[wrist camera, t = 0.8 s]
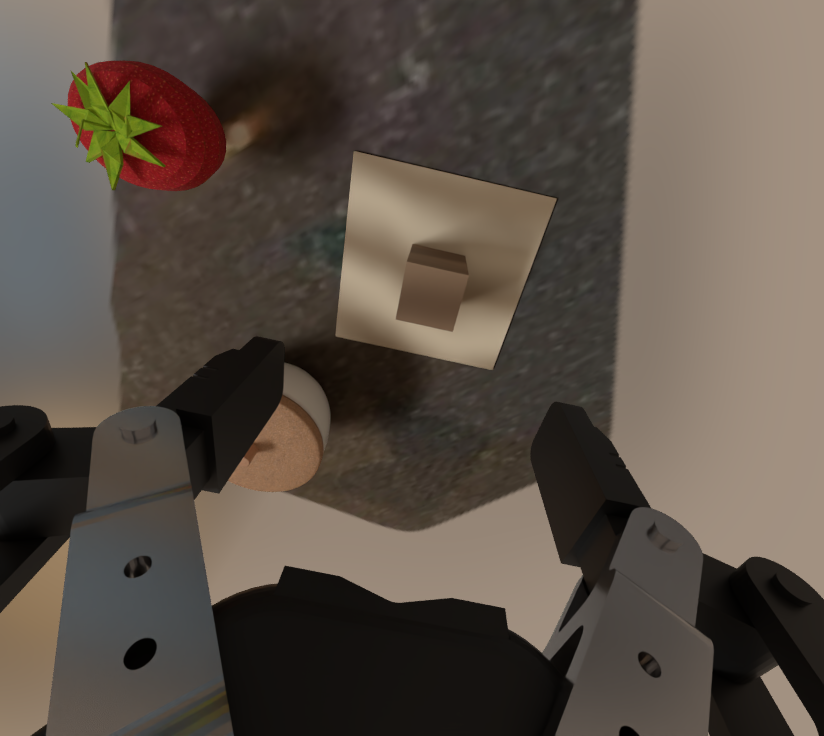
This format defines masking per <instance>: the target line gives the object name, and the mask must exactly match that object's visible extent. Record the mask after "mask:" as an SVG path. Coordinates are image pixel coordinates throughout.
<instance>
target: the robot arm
mask: <svg viewBox="0 0 824 736" xmlns="http://www.w3.org/2000/svg"><path fill="white" fill-rule="evenodd" d="M284 356H285V347H284V343H283V342H281V341H276V340H272V339H267V338H262V337H258V336H255V337H254V338H252V339H251V340H250V341H249V342H248V343H247V344H246V345H245V346H244V347H242V348H241V349H240V350H236V349H231V350H229V351H226V352H224V353H221V354H219V355H216V356H215V357H213V358H212V359H211V360H210V361H209V362H207V363H206V364H205V365H204V367H203V368H200V369H199V370H198V371H197V372H196V373H194V375H193V377H190V378H189V379H187V380H186V381H185V382H184V383H183V384H182V385H180V386H179V387H178V388H177V389H176V390H174V391H173V392H172V393H171V394H170V395H169V396H167V397H166V398H165V399H164V400H163V401H161V402H160V403H159V404H158V405H157V406H142V407H135V408H130V409H127V410H123V411H121V412H118V413H116V414H114V415H112V416H110V417H108V418H107V419H105V420H104V421H103V422H101V423H100V424H99V425H98V426H97V427H83V428H51V426H50V423H49V421H48V418H47V415H46V414H45V413H44V412H43V411H42V410H40V409H38V408H35V407H31V406H23V405H22V406H21V405H19V406H18V405H13V406H2V407H0V613H1V612H2V611H3V609H4V608H5V607H6V606H7V605H8V604H9V603H10V602H11V601H12V599H14V597H15V596H16V595H17V594H18V593H19V592H20V591H21V590H22V589H23V588H24V587H25V585H26V584H27V583H28V582H29V581H30V580H31V579H32V578H33V577H34V576H35V574H36V573H37V572H38V571H39V570H40V569H41V568H42V567H43V566H44V565H45V564H46V562H47V561H48V560H49V559H50V558H51V557H52V556H53V555H54V554H55V553H56V552H57V551H58V549H59V548H60V547H61V546H62V545H63V544H64V543H65V542H66V541H67V540H68V539H69V537H70V541H69V550H68V558H67V566H66V574H65V582H64V591H63V599H62V607H61V616H60V624H59V632H58V640H57V648H56V656H55V665H54V673H53V681H52V689H51V698H50V706H49V714H48V722H47V725H45V726H44V727H42V728H41V729H39V730H38V731H37V732H35V733H34V734H32V736H708V732H709V735H710V736H794V735H793V733H792V731H791V729H790V728H789V726H788V724H787V723H786V721H785V719H784V717H783V715H782V714H781V712H780V710H779V709H778V707H777V705H776V703H775V702H774V700H773V698H772V696H771V695H770V693H769V691H768V689H767V688H766V686H765V684H764V683H763V681H762V679H761V677H760V676H762V675H763V674H764V673H766V672H768V671H770V670H771V669H773V668H774V667H776V666H778V665H779V667H780V668H781V670H782V671H783V673H784V675H785V676H786V678H787V679H788V681H789V683H790V684H791V686H792V687H793V689H794V691H795V692H796V694H797V695H798V697H799V699H800V700H801V702H802V703H803V705H804V707H805V708H806V710H807V711H808V713H809V715H810V716H811V718H812V720H813V721H814V723H815V725H816V728H817V731H818V734H819V736H824V599H823V598H822V597H821V596H820V595H819V594H818V593H817V592H816V591H815V590H814V589H813V588H812V587H811V586H810V585H809V584H808V583H806V582H805V581H804V580H803V579H801V578H800V577H799V576H797V575H796V574H795V573H793V572H792V571H790V570H789V569H787V568H785V567H784V566H782V565H780V564H778V563H776V562H774V561H771V560H768V559H766V558H762V557H751V558H749V559H748V560H746V561H745V562H744V563H743V564H742V565H741V566H740V567H738V568H737V569H736V568H734V567H732V566H730V565H728V564H725V563H723V562H721V561H719V560H716V559H714V558H712V557H710V556H708V555H706V554H703V553H702V550H701V548H700V546H699V544H698V543H697V541H696V540H695V539H694V537H693V536H692V535H691V534H690V533H689V532H688V531H687V530H686V529H685V528H684V527H683V526H682V525H681V524H679V523H678V522H677V521H676V520H674V519H673V518H671V517H669V516H668V515H666V514H664V513H662V512H660V511H657V510H654V509H651V507H650V505H649V504H648V502H647V500H646V499H645V497H644V495H643V494H642V492H641V491H640V489H639V487H638V485H637V484H636V482H635V480H634V479H633V477H632V475H631V474H630V472H629V470H628V469H626V465H625V464H624V462H623V460H622V459H621V458H620V457H619V454H618V452H617V450H616V449H615V447H614V446H613V444H612V442H611V441H610V440H609V439H608V438H607V437H606V436H605V435H604V434H603V433H602V432H601V431H600V430H599V429H598V428H597V427H594V426H593V424H592V423H591V421H590V419H589V417H588V416H587V414H586V412H585V410H584V409H583V408H582V407H579V406H574V405H570V404H565V403H560V402H554V403H553V404H552V405H551V406H550V408H549V410H548V412H547V414H546V416H545V418H544V420H543V422H542V424H541V426H540V428H539V430H538V432H537V434H536V436H535V438H534V440H533V443H532V446H531V463H532V466H533V469H534V473H535V476H536V480H537V483H538V486H539V490H540V493H541V497H542V500H543V503H544V507H545V510H546V514H547V517H548V520H549V524H550V527H551V531H552V534H553V537H554V541H555V544H556V548H557V551H558V554H559V558H560V561H561V563H562V564H567V565H572V566H577V567H581V570H582V573H583V575H582V577H581V578H580V579H579V581H578V582H577V584H576V586H575V588H574V590H573V592H572V594H571V596H570V599H569V601H568V603H567V605H566V607H565V609H564V611H563V613H562V615H561V618H560V620H559V622H558V624H557V626H556V628H555V630H554V632H553V634H552V636H551V638H550V640H549V642H548V644H547V646H546V647H545V649H544V651H543V652H542V653H541V652H540V651H539V650H538V649H537V648H535V647H534V646H533V645H531V644H530V643H529V642H528V641H527V640H525V639H524V638H522V637H521V636H519V635H517V634H516V633H514V632H512V631H511V630H509V629H508V626H507V620H506V612H505V608H501V607H495V606H490V605H485V604H480V603H475V602H470V601H465V600H459V599H454V598H447V599H436V600H426V601H415V602H404V603H395V602H391V601H388V600H386V599H384V598H382V597H380V596H378V595H376V594H374V593H372V592H370V591H368V590H366V589H364V588H362V587H360V586H358V585H356V584H354V583H352V582H350V581H348V580H346V579H344V578H342V577H340V576H335V575H330V574H325V573H320V572H315V571H310V570H305V569H300V568H294V567H289V566H285V567H284V569H283V572H282V574H281V577H280V579H279V582H278V584H269V585H264V586H259V587H254V588H251V589H248V590H245V591H242V592H239V593H236V594H234V595H232V596H230V597H228V598H225V599H223V600H221V601H220V602H218V603H216V604H214V605H211V599H210V594H209V587H208V582H207V575H206V569H205V563H204V558H203V552H202V546H201V539H200V533H199V528H198V522H197V516H196V509H195V504H194V500H195V498H196V497H197V496H198V494H199V493H200V492H201V490H204V491H209V492H214V493H220V491H221V490H222V488H223V487H224V485H225V484H226V482H227V481H228V480H229V478H230V477H231V475H232V474H233V472H234V471H235V469H236V468H237V466H238V465H239V463H240V462H241V460H242V459H243V457H244V456H245V454H246V453H247V452H248V450H249V449H250V447H251V446H252V444H253V443H254V441H255V440H256V438H257V437H258V435H259V434H260V432H261V431H262V429H263V428H264V426H265V425H266V424H267V422H268V421H269V419H270V418H271V416H272V415H273V413H274V412H275V410H276V409H277V407H278V405H279V403H280V401H281V398H282V394H283V388H284Z"/></svg>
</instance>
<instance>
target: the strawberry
mask: <svg viewBox="0 0 824 736" xmlns="http://www.w3.org/2000/svg"><path fill="white" fill-rule="evenodd" d="M85 67H86V68H84V69H83V70H82V71H81V72H80V73H78V74H77V76H76V75H75V74H74V73H73V72H72V71H71V73H72V76H73V78H74V80H73V82H72V83H71V86H70V89H69V93H68V106H64V105H59V104H53V103H52V104H53V105H54V106H55V107H56V108H58V109H59V110H60V111H61V112H63V113H64V114H65V115H67V116H68V117H69V118H70V120H71V122H72V125H73V127H74V130H75V132H76V134H77V136H78V137H77V141H76V147H77V148H78V145H79V141H81V143H82V144H83V145H84V146H85V148H86V149H87V150H88V154H87V159H86V162H89V163H90V162H91V161H93V160H95V159H96V160H97V161H98V162H99V163H100V164H101V165H102V166H104V167H105V168H106V170H107V173H108V177H109V181H110V184H111V188H112V190H115V189H116V186H117V183H118V180H119V177H120V178H122V179H123V180H125V181H127V182H130V183H132V184H135V185H137V186H141V187H145V188H149V189H157V190H167V191H183V190H189V189H192V188H195V187H197V186H199V185H201V184H202V183H204V182H206V181H207V180H208V179H209V178H210V177H211V176H212V175H213V174H214V173H215V172H216V171H217V170H218V169H219V168H220V166H221V164H222V163H223V161H224V158H225V153H226V139H225V134H224V130H223V128H222V125H221V123H220V120H219V119H218V117H217V115H216V114H215V112H214V111H213V109H212V108H211V107H210V106H209V105H208V103H207V102H206V101H205V100H204V99H203V98H202V97H201V96H199V95H198V94H197V93H196V92H195V91H193V90H192V89H191V88H189V87H188V86H187V85H186V84H184V83H183V82H182V81H180V80H179V79H177V78H176V77H174V76H172V75H171V74H169V73H168V72H166V71H164V70H161V69H159V68H157V67H155V66H152V65H149V64H145V63H141V62H135V61H106V62H99V63H95V64H93V65H90V66H88V63H87V62H85Z"/></svg>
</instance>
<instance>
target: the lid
mask: <svg viewBox="0 0 824 736" xmlns="http://www.w3.org/2000/svg"><path fill="white" fill-rule="evenodd" d="M556 200H557V199H556V198H552V197H548V196H544V195H539V194H535V193H531V192H527V191H522V190H518V189H514V188H510V187H505V186H501V185H497V184H493V183H488V182H484V181H480V180H476V179H471V178H467V177H463V176H459V175H454V174H450V173H446V172H442V171H437V170H433V169H429V168H425V167H420V166H416V165H412V164H408V163H403V162H399V161H395V160H391V159H386V158H382V157H378V156H374V155H369V154H365V153H361V152H357V151H354V155H353V165H352V175H351V185H350V195H349V205H348V215H347V225H346V235H345V245H344V255H343V265H342V275H341V285H340V295H339V305H338V315H337V325H336V335H335V336H336V337H341V338H346V339H350V340H355V341H360V342H364V343H369V344H374V345H378V346H383V347H387V348H392V349H397V350H401V351H406V352H411V353H415V354H420V355H425V356H429V357H434V358H439V359H443V360H448V361H453V362H457V363H462V364H467V365H471V366H476V367H481V368H485V369H490V370H493V367H494V365H495V362H496V359H497V357H498V354H499V351H500V349H501V346H502V343H503V341H504V338H505V335H506V333H507V330H508V327H509V325H510V322H511V319H512V317H513V314H514V311H515V309H516V306H517V303H518V301H519V298H520V296H521V293H522V290H523V288H524V285H525V282H526V280H527V277H528V274H529V272H530V269H531V266H532V264H533V261H534V258H535V256H536V253H537V250H538V248H539V245H540V242H541V240H542V237H543V235H544V232H545V229H546V227H547V224H548V221H549V219H550V216H551V213H552V211H553V208H554V205H555V203H556Z"/></svg>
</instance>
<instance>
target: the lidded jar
mask: <svg viewBox="0 0 824 736" xmlns="http://www.w3.org/2000/svg"><path fill="white" fill-rule="evenodd" d="M330 422H331V413H330V407H329V402H328V399H327V397H326V395H325V393H324V391H323V389H322V387H321V386H320V385H319V383H318V382H317V381H316V380H315V379H314V378H313V377H312V376H311V375H310V374H309V373H307V372H306V371H305V370H303V369H301V368H299V367H297V366H294V365H292V364H288V363H285V362H284V388H283V394H282V398H281V401H280V403H279V405H278V407H277V409H276V410H275V412H274V413H273V415H272V416H271V418H270V419H269V421H268V422H267V424H266V425H265V426H264V428H263V429H262V431H261V432H260V434H259V435H258V437H257V438H256V440H255V441H254V443H253V444H252V446H251V447H250V449H249V450H248V452H247V453H246V454H245V456H244V457H243V459H242V460H241V462H240V463H239V465H238V466H237V468H236V469H235V471H234V472H233V474H232V475H231V477H230V478H229V480H228V481H230V482H232V483H234V484H236V485H239V486H242V487H245V488H248V489H252V490H258V491H265V492H266V491H267V492H280V491H286V490H291V489H294V488H297V487H299V486H301V485H303V484H305V483H306V482H307V481H309V480H310V479H311V478H312V477H313V476H314V475H315V473H316V472H317V470H318V468H319V466H320V463H321V460H322V456H323V452H324V449H325V446H326V443H327V440H328V435H329V431H330Z"/></svg>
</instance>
